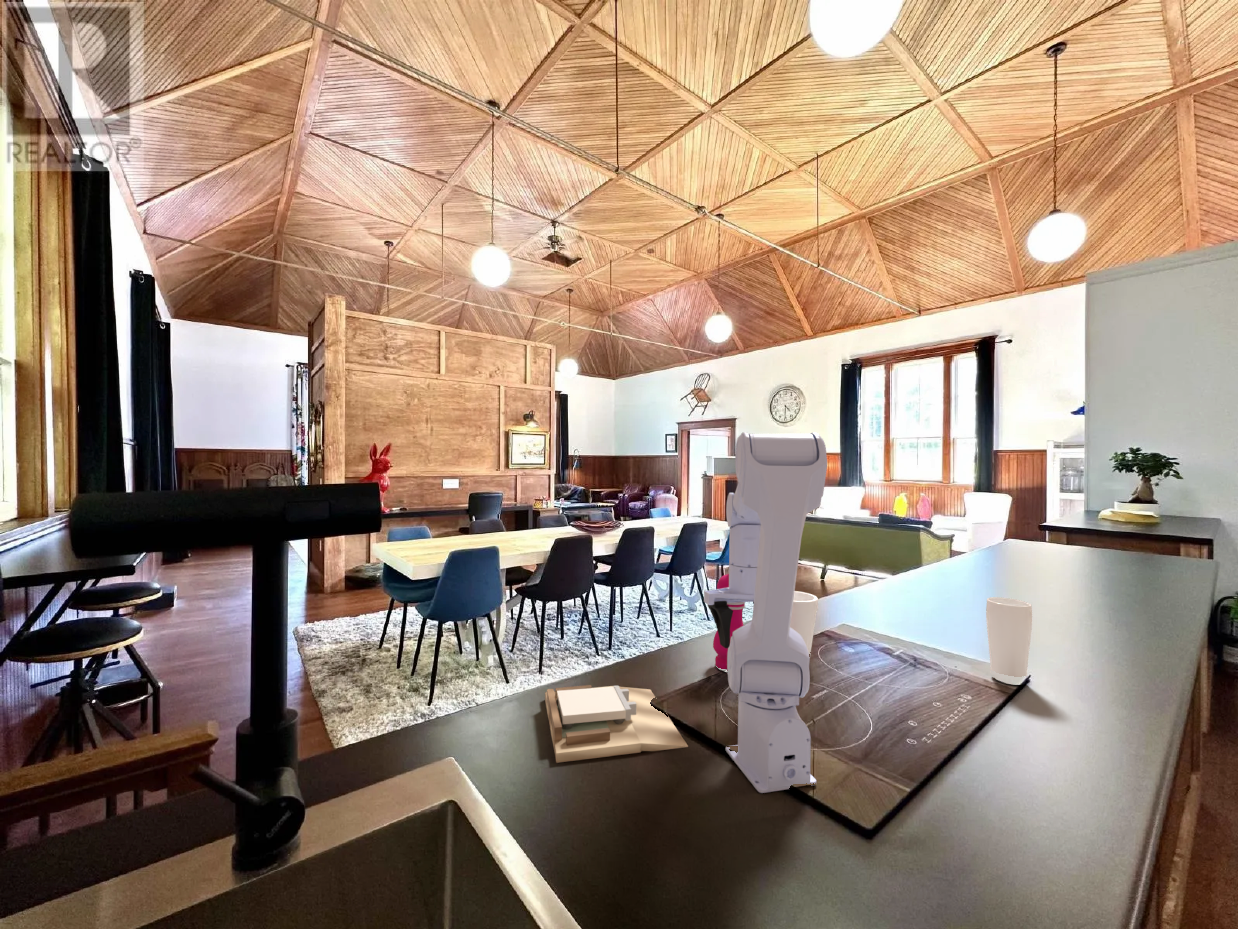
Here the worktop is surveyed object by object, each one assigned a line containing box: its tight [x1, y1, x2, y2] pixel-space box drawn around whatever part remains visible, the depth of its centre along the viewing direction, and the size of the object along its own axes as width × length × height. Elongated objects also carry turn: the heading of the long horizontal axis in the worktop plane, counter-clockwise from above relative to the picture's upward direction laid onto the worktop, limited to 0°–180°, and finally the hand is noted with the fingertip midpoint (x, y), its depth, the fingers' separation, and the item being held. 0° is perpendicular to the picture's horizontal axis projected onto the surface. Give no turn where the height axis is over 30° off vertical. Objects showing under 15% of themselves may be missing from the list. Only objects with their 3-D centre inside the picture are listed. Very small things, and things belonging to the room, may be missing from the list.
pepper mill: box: [712, 568, 746, 669], centre depth 96 cm, size 7×7×20 cm
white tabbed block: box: [556, 685, 636, 729], centre depth 74 cm, size 8×11×2 cm
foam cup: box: [790, 590, 819, 655], centre depth 101 cm, size 10×9×13 cm
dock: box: [544, 684, 689, 764], centre depth 75 cm, size 18×18×4 cm
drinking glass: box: [985, 596, 1033, 677], centre depth 92 cm, size 7×7×15 cm
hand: (745, 644), depth 82 cm, fingers open, 7 cm apart
